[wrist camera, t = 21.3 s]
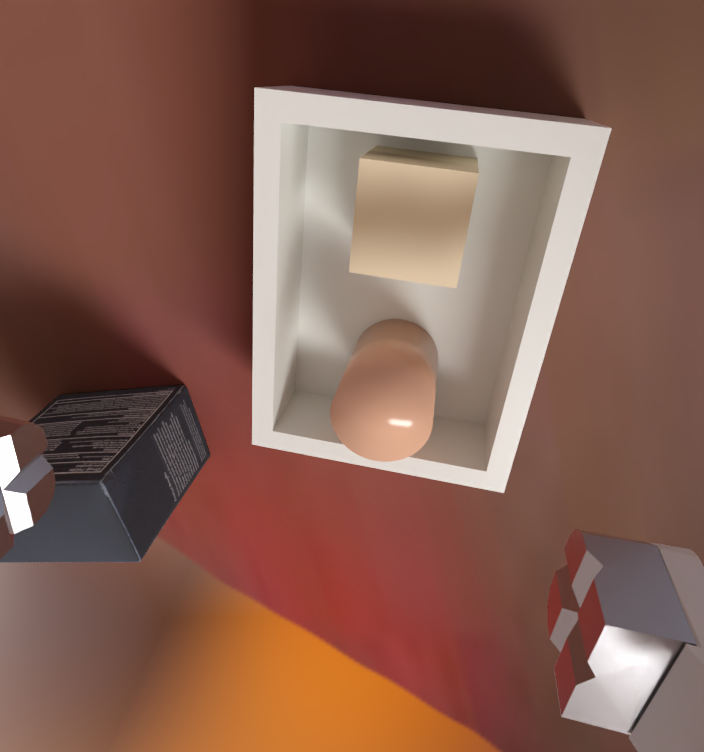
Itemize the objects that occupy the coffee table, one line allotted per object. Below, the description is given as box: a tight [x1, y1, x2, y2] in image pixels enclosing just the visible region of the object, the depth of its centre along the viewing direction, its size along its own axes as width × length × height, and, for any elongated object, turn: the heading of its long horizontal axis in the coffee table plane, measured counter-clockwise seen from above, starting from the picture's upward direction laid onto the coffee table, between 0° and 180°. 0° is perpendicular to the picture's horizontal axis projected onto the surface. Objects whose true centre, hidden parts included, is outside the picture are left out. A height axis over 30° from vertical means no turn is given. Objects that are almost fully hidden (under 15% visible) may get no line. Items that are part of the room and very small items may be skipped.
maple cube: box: [349, 146, 479, 288], centre depth 26 cm, size 5×5×5 cm
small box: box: [0, 385, 210, 562], centre depth 36 cm, size 11×6×10 cm, turn 102°
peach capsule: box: [330, 319, 438, 462], centre depth 30 cm, size 5×5×7 cm
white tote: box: [252, 86, 612, 493], centre depth 29 cm, size 14×18×6 cm
